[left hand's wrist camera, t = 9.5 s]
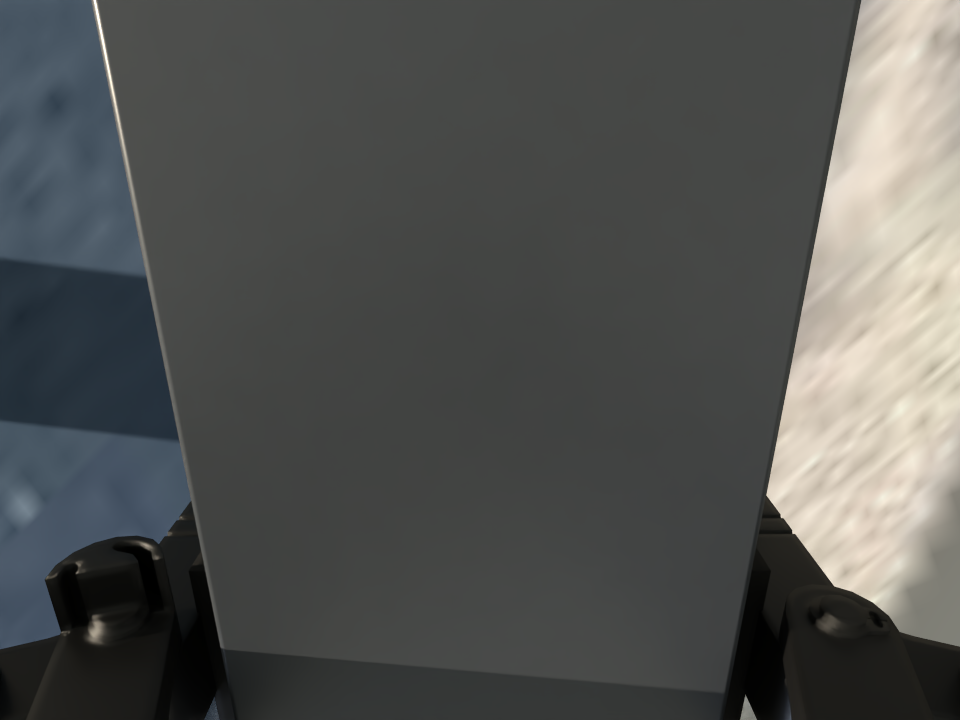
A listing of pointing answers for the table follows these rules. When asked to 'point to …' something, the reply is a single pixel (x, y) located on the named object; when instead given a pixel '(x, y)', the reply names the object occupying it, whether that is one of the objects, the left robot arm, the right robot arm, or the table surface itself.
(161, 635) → the left robot arm
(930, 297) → the table surface
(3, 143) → the table surface
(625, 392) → the post
